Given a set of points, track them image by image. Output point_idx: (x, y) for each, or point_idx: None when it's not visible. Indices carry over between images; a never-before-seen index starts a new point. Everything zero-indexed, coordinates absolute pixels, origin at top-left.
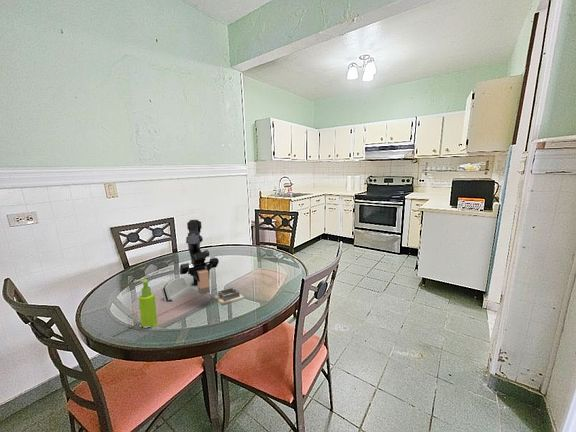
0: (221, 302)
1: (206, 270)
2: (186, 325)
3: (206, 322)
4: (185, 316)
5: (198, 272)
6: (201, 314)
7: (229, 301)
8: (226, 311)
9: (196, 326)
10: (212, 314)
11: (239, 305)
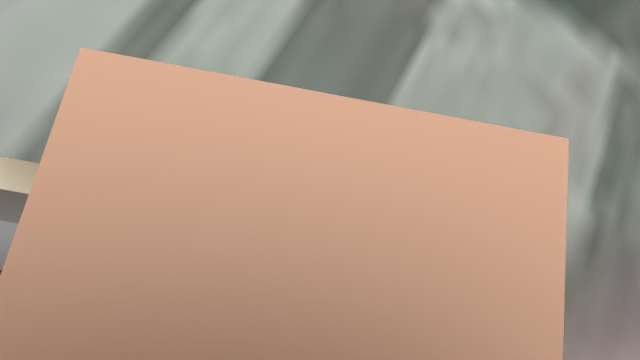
0: None
1: (62, 247)
2: (615, 94)
3: (451, 2)
4: (573, 281)
5: (559, 310)
6: None
7: (22, 161)
8: (195, 31)
9: (547, 11)
10: (334, 88)
11: (7, 33)
